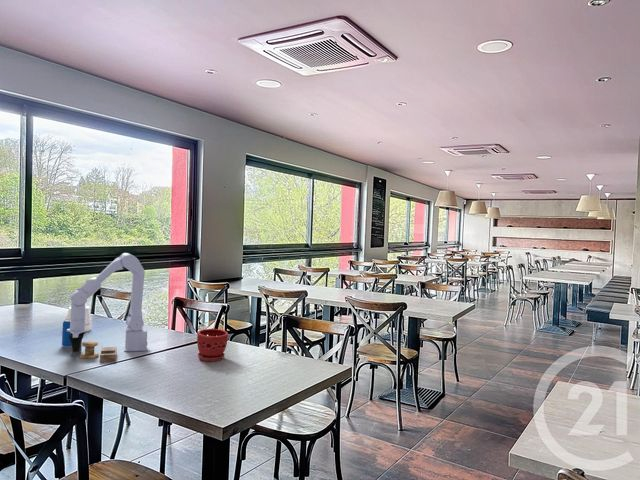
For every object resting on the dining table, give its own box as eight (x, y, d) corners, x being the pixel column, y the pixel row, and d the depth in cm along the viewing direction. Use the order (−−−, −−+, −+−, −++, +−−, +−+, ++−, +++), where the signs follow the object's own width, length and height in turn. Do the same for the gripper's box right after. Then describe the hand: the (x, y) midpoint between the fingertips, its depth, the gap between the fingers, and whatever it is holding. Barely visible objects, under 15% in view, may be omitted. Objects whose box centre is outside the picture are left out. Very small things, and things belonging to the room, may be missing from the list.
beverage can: (71, 348, 212) (72, 322, 212) (58, 347, 213) (59, 320, 213) (81, 345, 218) (82, 319, 218) (68, 343, 220) (69, 318, 219)
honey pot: (96, 329, 249) (97, 295, 248) (72, 333, 238) (73, 298, 237) (82, 325, 255) (83, 292, 255) (58, 329, 245) (59, 295, 244)
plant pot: (190, 360, 205) (191, 332, 205) (207, 353, 217) (209, 327, 217) (215, 365, 200) (216, 336, 200) (232, 357, 213) (233, 331, 212)
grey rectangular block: (81, 352, 207) (81, 337, 206) (80, 355, 203) (81, 339, 203) (72, 353, 205) (72, 338, 205) (71, 355, 202) (71, 340, 202)
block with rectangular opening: (116, 353, 208) (116, 346, 208) (115, 361, 197) (115, 354, 197) (101, 354, 206) (101, 347, 206) (99, 362, 195) (100, 355, 195)
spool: (99, 354, 206) (99, 340, 206) (97, 358, 200) (98, 344, 200) (81, 354, 204) (81, 340, 204) (79, 359, 197) (80, 345, 197)
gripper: (69, 315, 209) (68, 346, 210) (65, 322, 196) (63, 355, 196) (87, 315, 212) (85, 345, 212) (84, 322, 198) (82, 354, 199)
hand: (76, 350), depth 204 cm, fingers closed on grey rectangular block, 3 cm apart
